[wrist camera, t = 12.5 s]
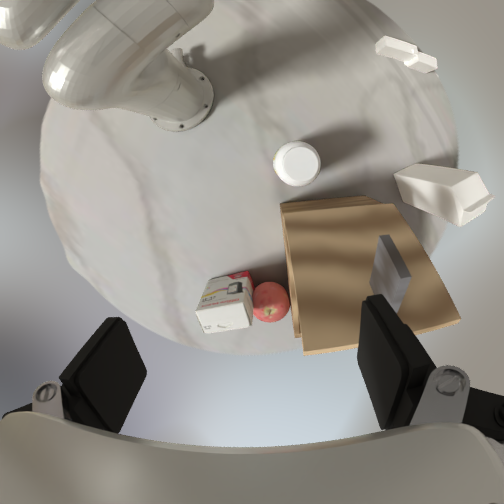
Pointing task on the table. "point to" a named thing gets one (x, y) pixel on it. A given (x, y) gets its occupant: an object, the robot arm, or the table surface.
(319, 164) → the supplement bottle
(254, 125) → the table surface
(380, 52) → the white stepped block
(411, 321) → the lid
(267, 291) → the apple
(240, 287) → the ink box
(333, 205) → the wooden box
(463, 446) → the robot arm
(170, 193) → the table surface
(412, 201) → the milk
